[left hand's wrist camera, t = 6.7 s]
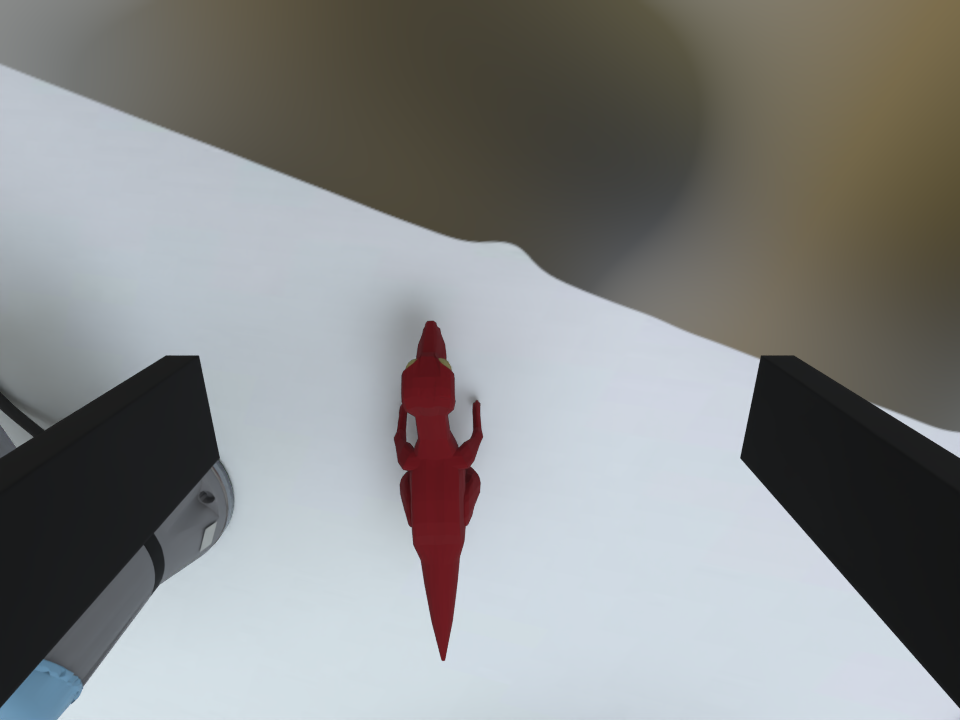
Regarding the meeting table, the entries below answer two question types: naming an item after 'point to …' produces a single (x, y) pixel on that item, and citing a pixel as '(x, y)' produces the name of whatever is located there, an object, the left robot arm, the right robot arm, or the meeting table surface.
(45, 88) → the meeting table surface
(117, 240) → the meeting table surface
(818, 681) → the meeting table surface
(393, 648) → the meeting table surface
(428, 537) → the toy
